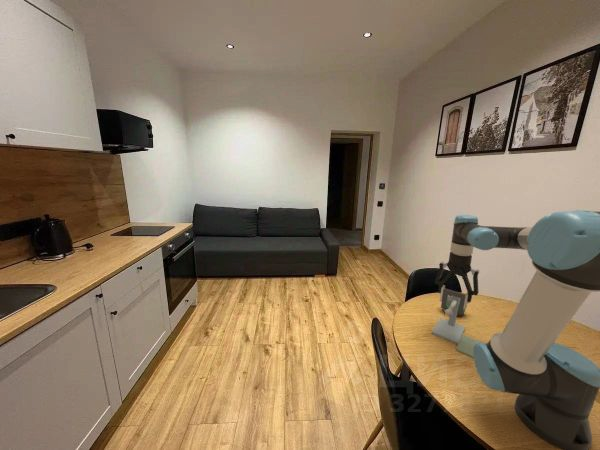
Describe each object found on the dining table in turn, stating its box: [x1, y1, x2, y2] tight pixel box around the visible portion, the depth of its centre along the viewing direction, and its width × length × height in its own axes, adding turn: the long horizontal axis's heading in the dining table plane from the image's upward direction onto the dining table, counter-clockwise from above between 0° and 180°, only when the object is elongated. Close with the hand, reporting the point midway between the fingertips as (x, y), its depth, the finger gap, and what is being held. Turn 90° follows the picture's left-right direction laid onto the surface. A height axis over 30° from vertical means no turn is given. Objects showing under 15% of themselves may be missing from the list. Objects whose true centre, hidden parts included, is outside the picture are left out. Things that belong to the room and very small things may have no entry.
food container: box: [441, 294, 470, 318], centre depth 118 cm, size 12×6×10 cm, turn 72°
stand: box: [431, 296, 466, 346], centre depth 105 cm, size 15×10×16 cm
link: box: [440, 287, 466, 315], centre depth 102 cm, size 2×8×9 cm, turn 46°
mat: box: [455, 333, 482, 359], centre depth 97 cm, size 12×10×1 cm
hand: (452, 304), depth 102 cm, fingers closed on link, 8 cm apart
